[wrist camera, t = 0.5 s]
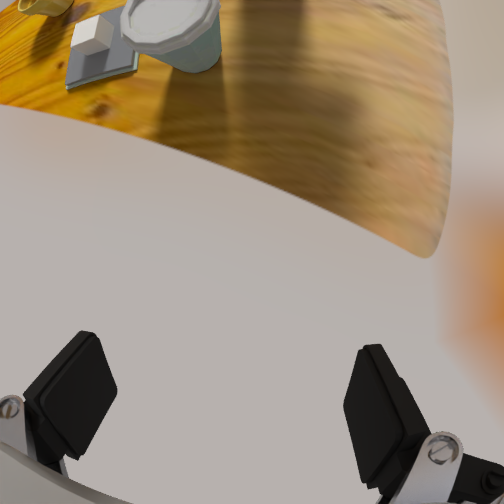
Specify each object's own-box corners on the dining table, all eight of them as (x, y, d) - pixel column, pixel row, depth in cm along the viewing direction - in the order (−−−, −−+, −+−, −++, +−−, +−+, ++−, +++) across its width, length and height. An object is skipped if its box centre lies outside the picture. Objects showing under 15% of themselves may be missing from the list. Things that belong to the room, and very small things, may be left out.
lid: (80, 25, 27) (62, 14, 22) (144, 3, 27) (129, -14, 21) (68, 85, 31) (46, 79, 25) (133, 66, 31) (114, 54, 25)
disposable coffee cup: (232, 85, 32) (212, 39, 18) (157, 90, 32) (102, 57, 18) (236, 24, 29) (222, -37, 14) (164, 30, 29) (122, -18, 15)
